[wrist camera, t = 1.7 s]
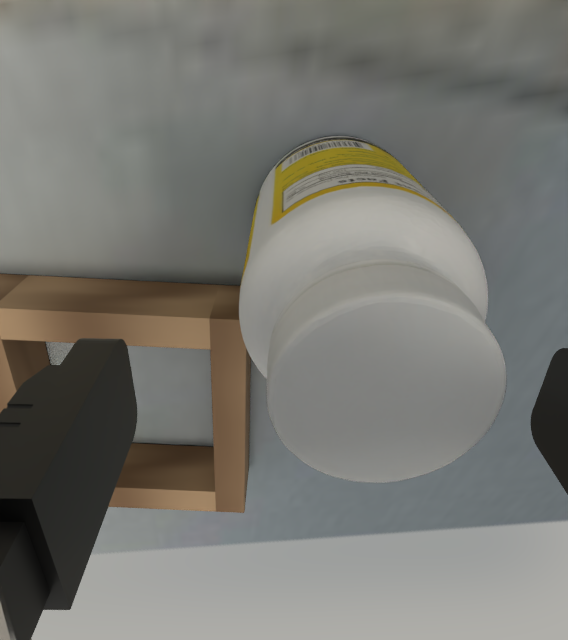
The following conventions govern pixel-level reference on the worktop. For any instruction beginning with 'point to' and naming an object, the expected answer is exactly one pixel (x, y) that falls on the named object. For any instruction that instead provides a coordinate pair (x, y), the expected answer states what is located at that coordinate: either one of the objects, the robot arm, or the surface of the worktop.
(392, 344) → the supplement bottle
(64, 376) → the robot arm
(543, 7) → the worktop surface
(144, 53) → the worktop surface
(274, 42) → the worktop surface
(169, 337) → the wooden frame
